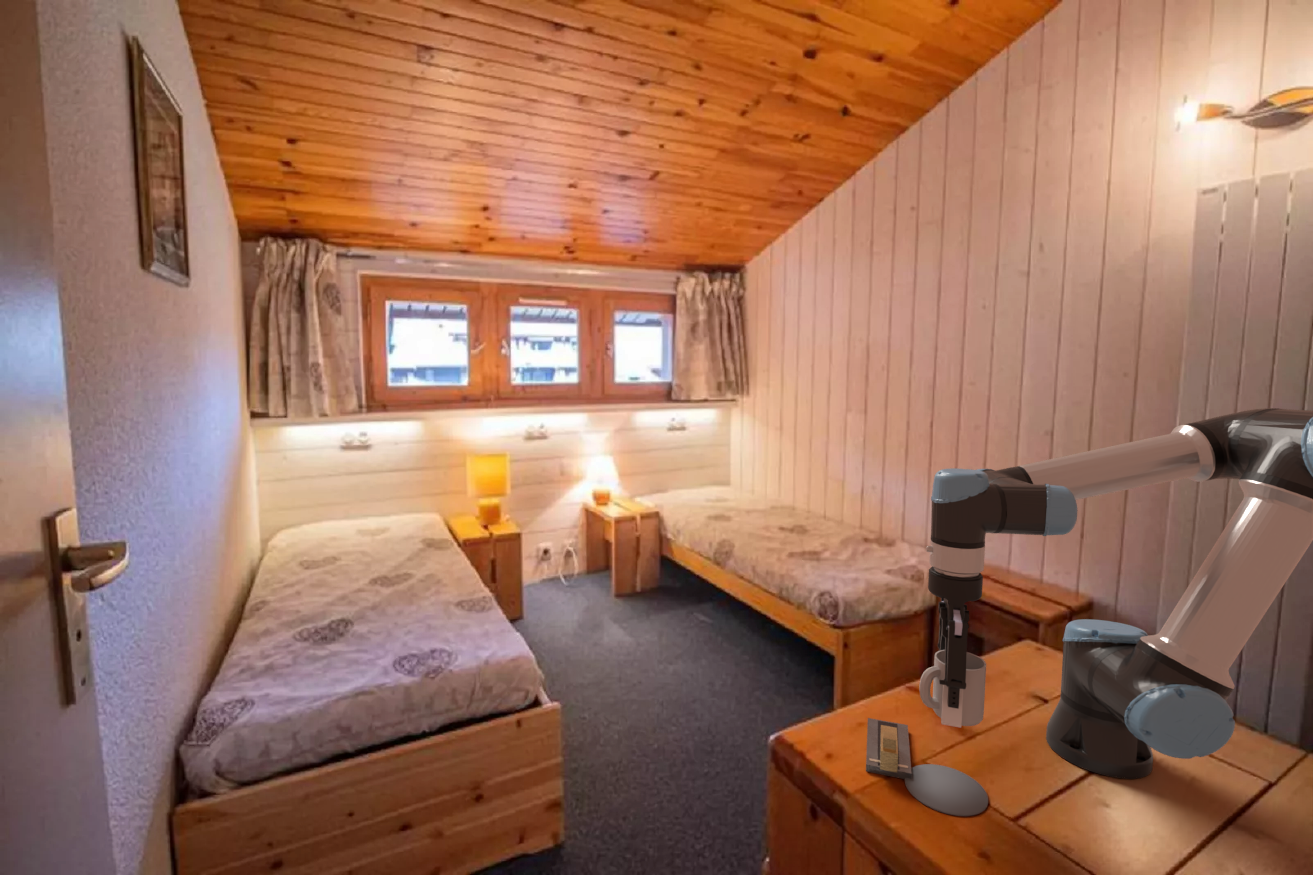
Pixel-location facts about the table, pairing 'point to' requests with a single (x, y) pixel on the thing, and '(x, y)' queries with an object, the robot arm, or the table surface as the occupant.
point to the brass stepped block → (888, 749)
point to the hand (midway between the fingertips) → (948, 711)
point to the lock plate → (874, 749)
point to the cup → (971, 694)
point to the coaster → (947, 790)
